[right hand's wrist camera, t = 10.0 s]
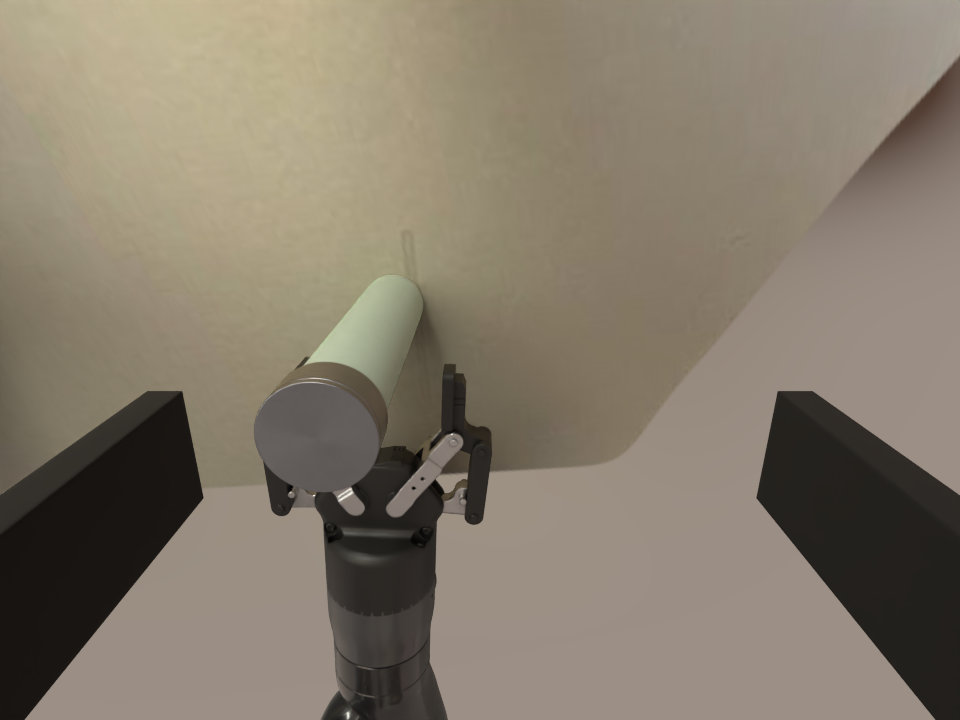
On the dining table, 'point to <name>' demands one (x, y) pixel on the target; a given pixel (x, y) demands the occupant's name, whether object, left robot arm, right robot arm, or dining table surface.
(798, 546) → the right robot arm
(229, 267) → the dining table surface
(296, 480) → the lid
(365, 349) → the pale green bottle
